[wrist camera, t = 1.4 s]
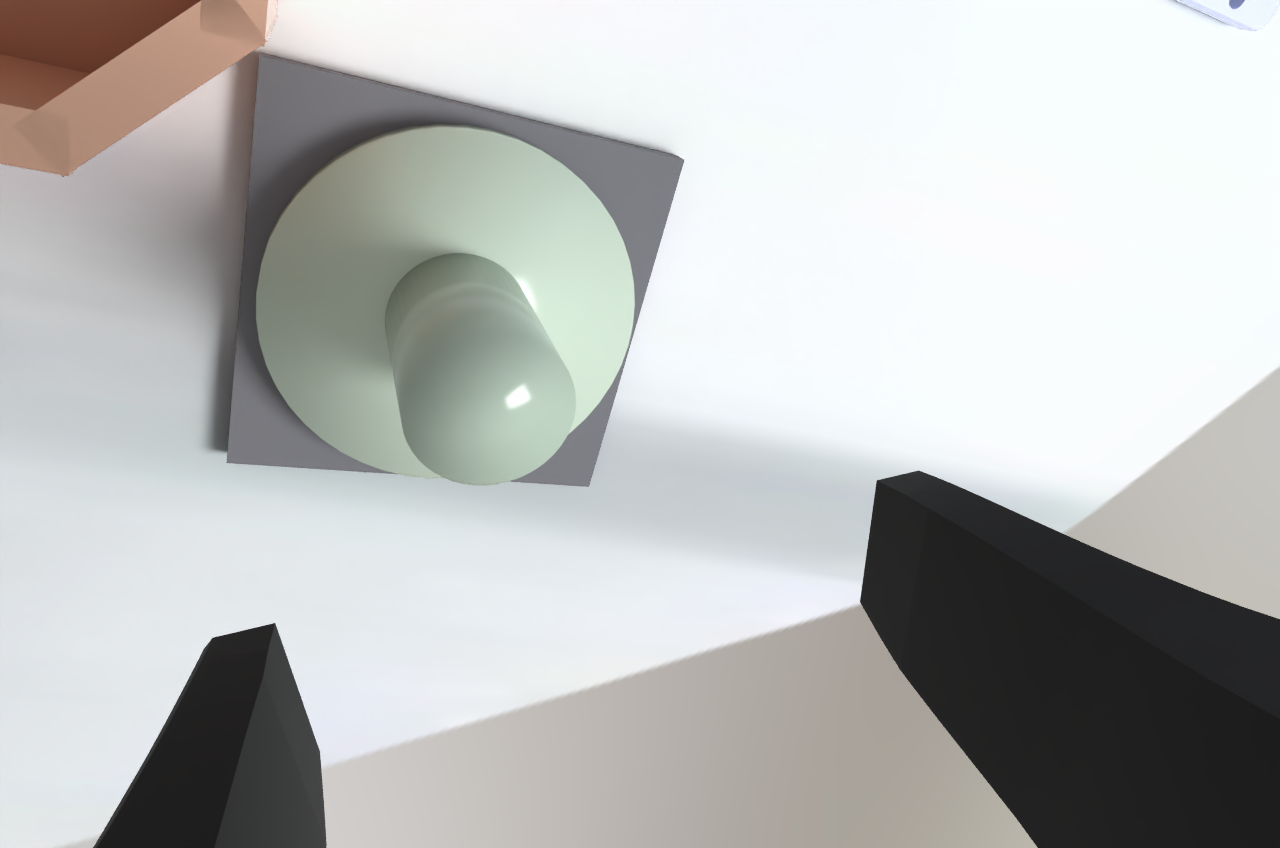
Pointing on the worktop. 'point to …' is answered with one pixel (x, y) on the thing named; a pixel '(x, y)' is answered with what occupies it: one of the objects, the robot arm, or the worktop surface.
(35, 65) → the bowl
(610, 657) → the worktop surface
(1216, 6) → the robot arm
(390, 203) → the lid
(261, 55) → the mat
